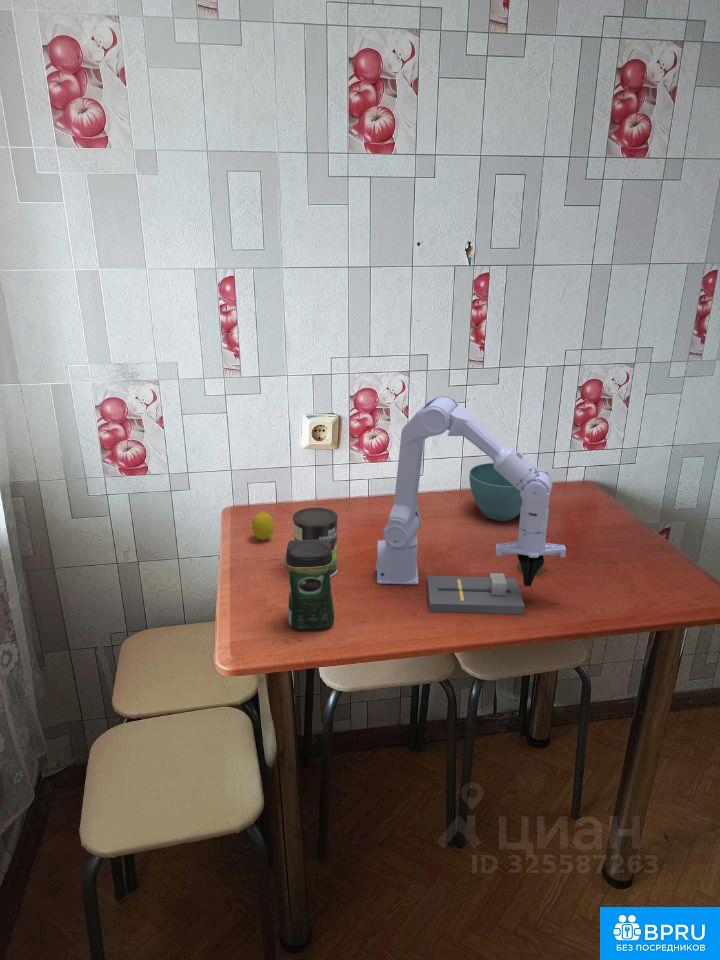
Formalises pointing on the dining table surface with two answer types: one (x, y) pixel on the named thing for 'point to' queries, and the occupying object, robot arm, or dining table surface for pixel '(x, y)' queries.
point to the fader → (497, 584)
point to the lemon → (262, 525)
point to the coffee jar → (309, 584)
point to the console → (472, 596)
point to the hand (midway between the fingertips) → (527, 583)
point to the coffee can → (317, 528)
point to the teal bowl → (494, 493)
